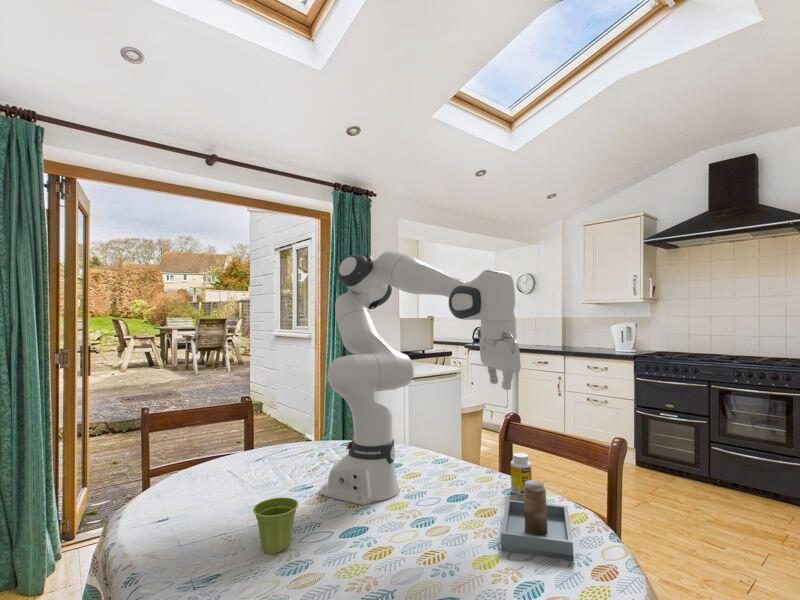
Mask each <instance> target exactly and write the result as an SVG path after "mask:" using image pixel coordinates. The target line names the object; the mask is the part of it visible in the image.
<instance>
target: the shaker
mask: <svg viewBox="0 0 800 600" xmlns="http://www.w3.org/2000/svg"><path fill="white" fill-rule="evenodd" d="M523 490H524V495H523V501H524V515H525V530H526V531H527V532H528V533H530V534H532V535H545V534H547V532H548V530H547V507H546V504H547V490H546V488H545V485H544V483H543V482H542V481H539V480H536V479H535V480H534V479H533V480H529V481H526V482H525V487H524V488H523Z"/></svg>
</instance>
